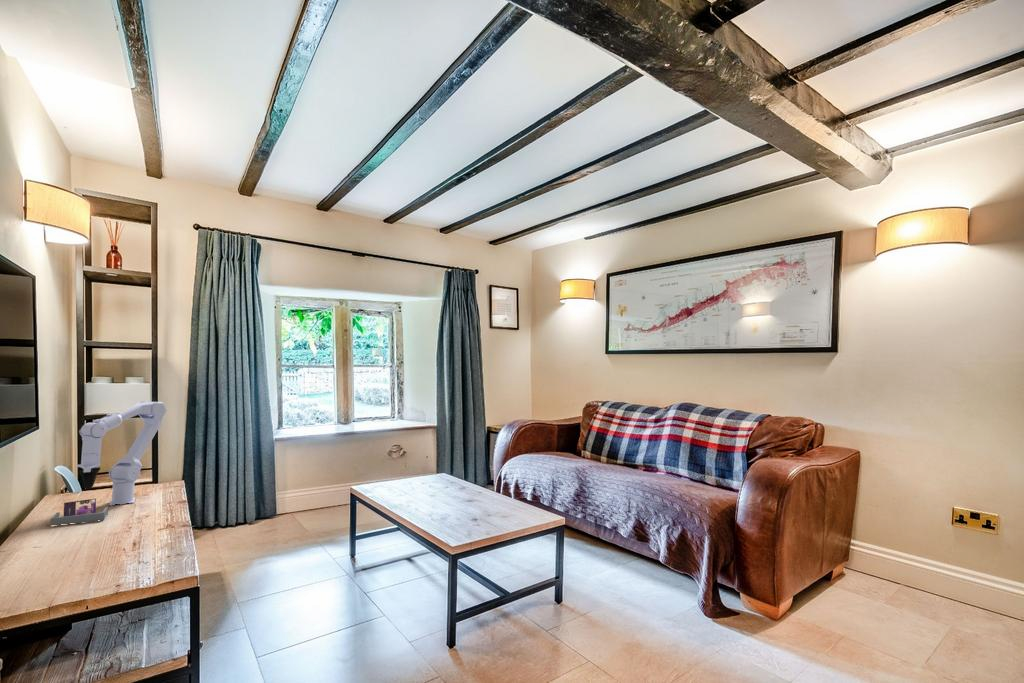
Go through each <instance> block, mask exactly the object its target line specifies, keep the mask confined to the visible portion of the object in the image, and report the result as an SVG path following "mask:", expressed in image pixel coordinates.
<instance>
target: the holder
mask: <svg viewBox="0 0 1024 683" xmlns="http://www.w3.org/2000/svg"><path fill="white" fill-rule="evenodd" d="M108 510H109V507H108V506H106V507H104V509H103V510H102V512H101V511H100V512H96V513H91V512H90V513H86V514H82V515H76V514H75V515H74V516H65V517H63V516H60V514H61V512H60V511H59V512H56V513H55V514H54V515H53V516H52V517H50V523H49V524H50V525H49V527H50V526H51V525H61V524H70V523H81V524H83V523H82V522H89V523H92V522H91V521H97V522H99V521H98V520H104V519H106V518H107V516H108V512H109V511H108ZM106 515H107V516H106ZM105 517H106V518H105ZM104 521H105V520H104Z"/></svg>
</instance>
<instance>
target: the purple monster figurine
mask: <svg viewBox="0 0 1024 683" xmlns="http://www.w3.org/2000/svg"><path fill="white" fill-rule="evenodd" d="M77 503H79V504H80V505H81V506H78V509H77ZM89 503H90V505H89ZM84 504H85V505H84ZM87 504H88V505H87ZM96 506H97V499H96V498H91V499H89V498H88V499H82V500H75V501H67V502H64V503H63V514H62V517H65V516H74V515H82V514H88V513H89V511H90V514H91V513H97V508H96ZM76 509H77V510H76Z"/></svg>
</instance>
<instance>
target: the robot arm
mask: <svg viewBox="0 0 1024 683" xmlns="http://www.w3.org/2000/svg"><path fill="white" fill-rule="evenodd" d="M166 412H167V408H166V403H164V402H163V401H145V400H143V401H140V402H137V403H135V405H133V406H131V407H128V408H126V409H125V410H123V411H121V412H119V413H107V414H106V416H103V417H101V418H97V419H95V420H94V421H93V422H87V423H85V424H83V425H82V426H81V428H80V429H79V430H78V432H79V435H80V436H81V441H82V446H81V460H80V464H77V465H76V467H77V468H81V470H79V475H80V477H81V479H82V484H83V489H84V490H88V489H89V490H90V489H92V488H93V487H94V486H95V481H96V478H97V475H98V473H99V472H100V470H101V467H100V466H101V454H102V443H103V437H104V436H105V435H106V434H107V432H109V431H111V430H112V429H115V428H117V427H119V426H121V424H122V423H123V422H124V421H126V420H128V419H131V418H133V417H136V416H139V417H140V419H141V420H142V421H143V422H144V425H143V427H142V428H141V430H140V432H139V433H138V435H137V437H136V438H135V440H134V442H133V444H131V447H130V448H129V449H128V452H127V453H126V454H125V456H124V457H123V458H121V459H119V460H117V461H116V463H115V464H114V465H113V466H112V467H111V468H110V469H109V471H108V477H109V479H110V480H111V482H112V488H111V489H112V492H111V500H110V502H109V504H108V506H109V505H110V506H116V505H115V504H120V505H127V504H126V503H129V504H133V503H134V502H135V501H136V499H137V498H136V497H134V496H135V483H136V481H137V479H138V477H139V476H140V474H141V470H142V468H143V464H142V462H141V459H142V457H143V456H144V454H145V452H147V451H146V450H147V449H148V448H149V446H150V444H151V442H152V440H153V439H154V437H155V435H156V433H157V432H158V430H159V428H160V427H161V425H162V422H163V417H164V416H165V414H166ZM135 498H136V499H135Z"/></svg>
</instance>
